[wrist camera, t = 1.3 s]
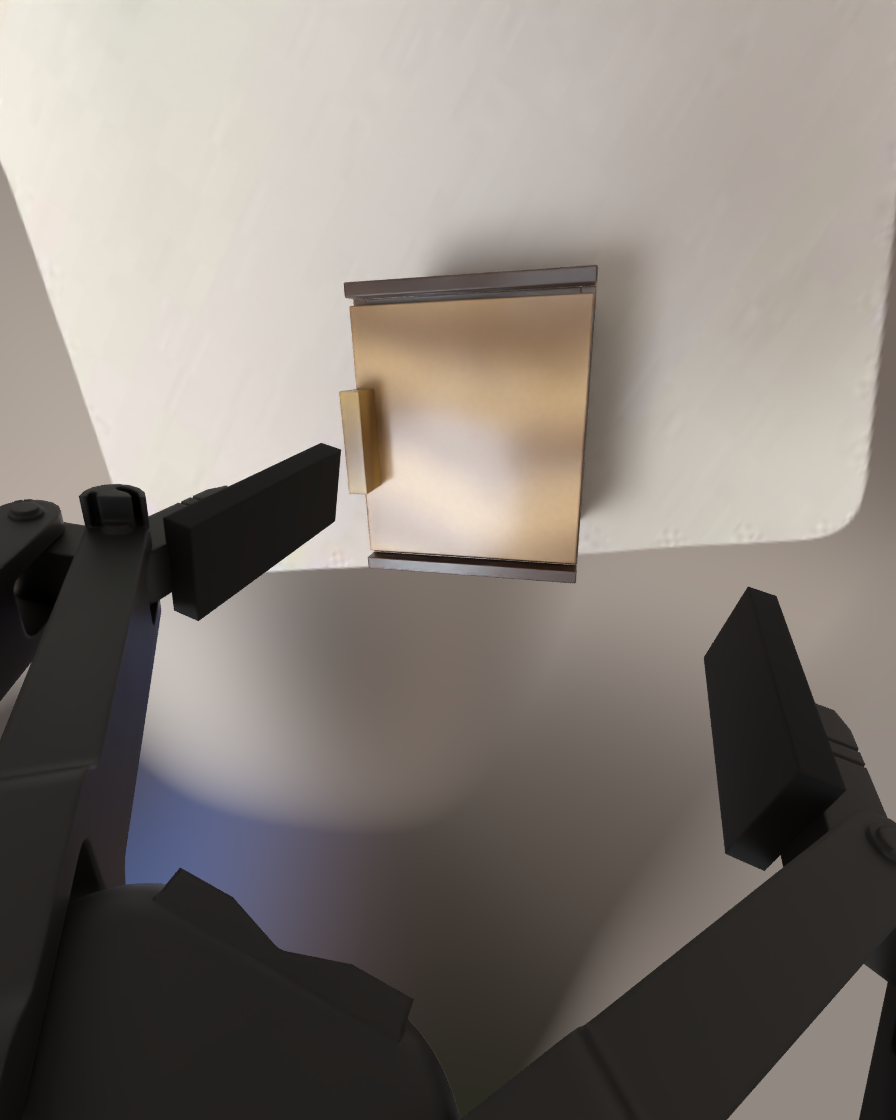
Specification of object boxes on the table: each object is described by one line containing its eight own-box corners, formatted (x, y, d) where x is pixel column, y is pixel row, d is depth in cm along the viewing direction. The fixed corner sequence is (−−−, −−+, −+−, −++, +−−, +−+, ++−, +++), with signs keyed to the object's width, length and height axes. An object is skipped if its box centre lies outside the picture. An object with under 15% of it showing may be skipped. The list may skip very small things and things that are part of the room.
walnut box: (406, 301, 39) (342, 282, 29) (595, 290, 36) (598, 264, 26) (417, 521, 46) (368, 568, 36) (579, 529, 42) (575, 583, 32)
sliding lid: (354, 307, 31) (330, 302, 28) (594, 293, 27) (594, 286, 24) (374, 546, 36) (355, 563, 33) (575, 559, 33) (574, 579, 30)
